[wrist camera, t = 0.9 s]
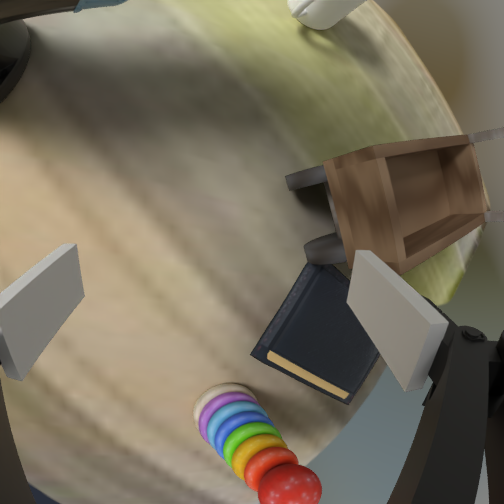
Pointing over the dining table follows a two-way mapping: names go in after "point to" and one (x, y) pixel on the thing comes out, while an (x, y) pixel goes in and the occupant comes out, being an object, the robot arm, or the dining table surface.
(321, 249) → the trolley
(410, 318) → the robot arm
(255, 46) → the dining table surface
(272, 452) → the stacking toy
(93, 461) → the dining table surface
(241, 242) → the dining table surface
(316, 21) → the cup
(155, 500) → the dining table surface
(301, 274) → the dark navy book
